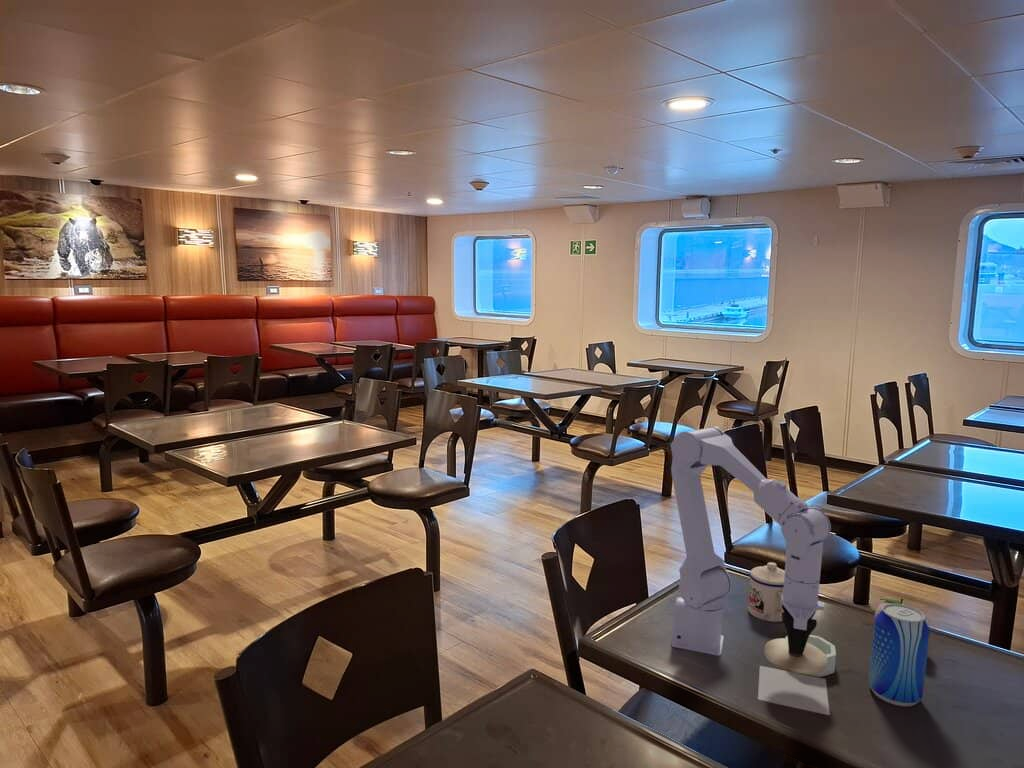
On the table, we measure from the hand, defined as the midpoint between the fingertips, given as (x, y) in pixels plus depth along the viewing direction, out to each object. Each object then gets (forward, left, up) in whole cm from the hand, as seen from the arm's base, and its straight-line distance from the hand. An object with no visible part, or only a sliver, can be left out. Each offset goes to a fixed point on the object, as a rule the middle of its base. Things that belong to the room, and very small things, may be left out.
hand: (795, 648), depth 123 cm
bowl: (+3, +10, -8) cm, 14 cm away
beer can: (+17, +5, -8) cm, 20 cm away
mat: (0, 0, -8) cm, 8 cm away
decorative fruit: (+20, +25, -8) cm, 34 cm away
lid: (0, 0, -2) cm, 2 cm away
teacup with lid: (-4, +28, -8) cm, 30 cm away
